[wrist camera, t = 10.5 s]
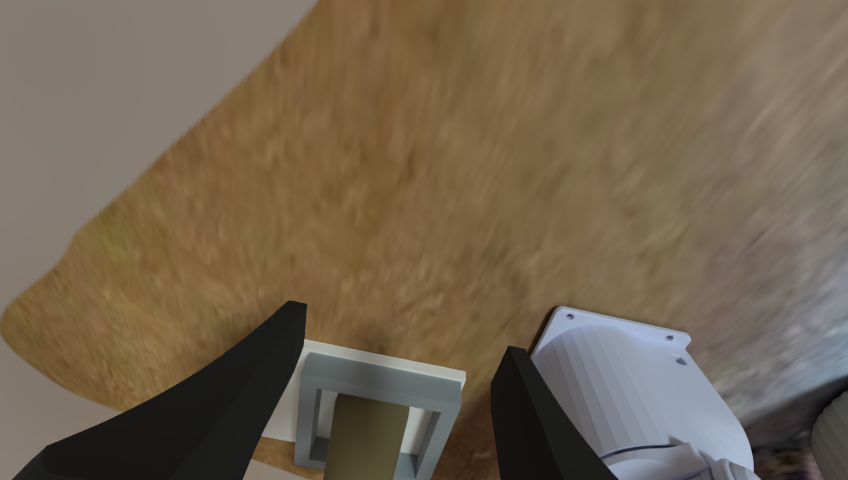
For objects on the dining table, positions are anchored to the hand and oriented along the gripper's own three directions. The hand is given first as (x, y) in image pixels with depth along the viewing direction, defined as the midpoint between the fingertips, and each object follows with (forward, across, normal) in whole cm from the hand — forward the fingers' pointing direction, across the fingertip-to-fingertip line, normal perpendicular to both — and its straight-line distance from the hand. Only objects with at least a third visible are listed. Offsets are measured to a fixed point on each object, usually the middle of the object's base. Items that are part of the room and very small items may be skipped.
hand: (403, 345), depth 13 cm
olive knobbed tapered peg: (+10, 0, +17) cm, 20 cm away
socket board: (+10, +2, +18) cm, 21 cm away
